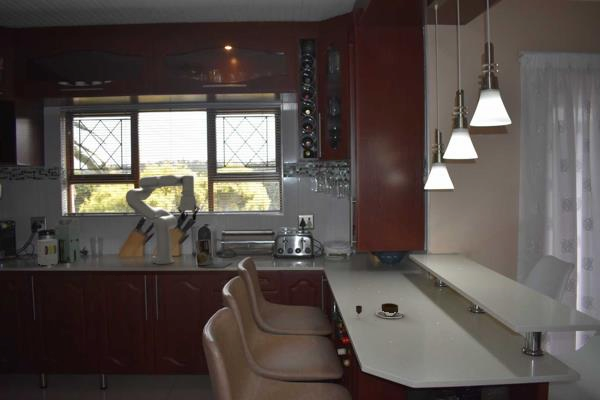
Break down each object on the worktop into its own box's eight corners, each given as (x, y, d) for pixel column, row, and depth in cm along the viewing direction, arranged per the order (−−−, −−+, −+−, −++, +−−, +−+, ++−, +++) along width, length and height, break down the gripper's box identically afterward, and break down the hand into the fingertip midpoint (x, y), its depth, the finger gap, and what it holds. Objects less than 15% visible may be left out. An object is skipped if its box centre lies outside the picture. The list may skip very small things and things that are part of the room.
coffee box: (213, 262, 320) (211, 239, 319) (210, 264, 313) (208, 240, 313) (200, 263, 321) (198, 239, 320) (197, 265, 314) (194, 241, 314)
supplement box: (43, 266, 317) (42, 241, 316) (37, 264, 323) (36, 240, 322) (58, 263, 325) (57, 239, 324) (51, 262, 330) (50, 238, 329)
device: (55, 260, 337) (54, 218, 335) (65, 259, 344) (64, 217, 342) (70, 262, 329) (68, 219, 327) (80, 260, 335) (78, 218, 334)
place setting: (405, 323, 192) (405, 309, 192) (355, 321, 195) (355, 307, 195) (403, 311, 209) (403, 298, 209) (357, 309, 212) (357, 296, 212)
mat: (203, 267, 308) (203, 266, 307) (215, 262, 324) (215, 261, 324) (221, 268, 304) (221, 267, 304) (232, 263, 321) (232, 262, 321)
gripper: (173, 193, 316) (174, 220, 317) (197, 193, 312) (197, 220, 313) (179, 193, 323) (179, 219, 324) (202, 193, 319) (203, 219, 320)
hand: (188, 219), depth 318 cm, fingers open, 7 cm apart
